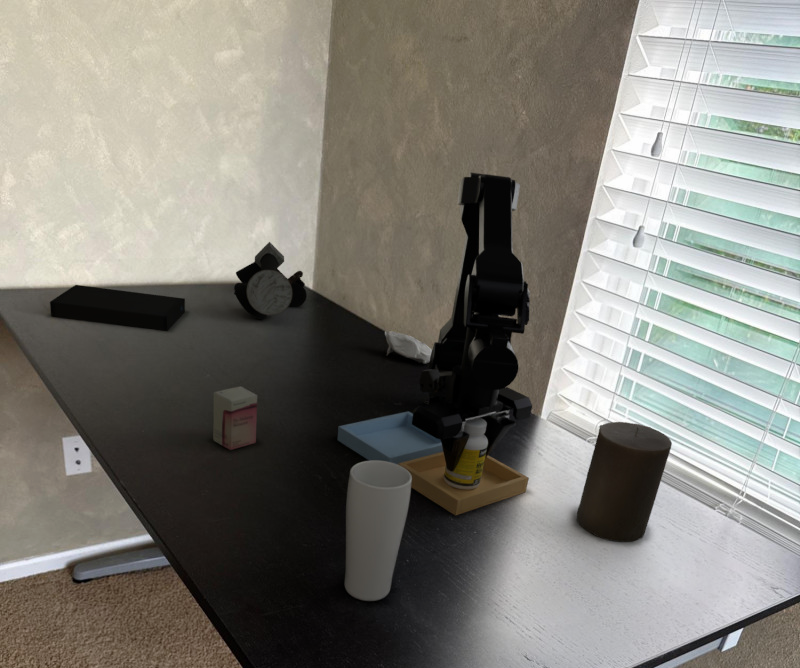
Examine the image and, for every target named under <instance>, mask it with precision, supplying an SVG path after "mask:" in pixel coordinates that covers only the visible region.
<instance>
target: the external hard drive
mask: <svg viewBox="0 0 800 668" xmlns="http://www.w3.org/2000/svg"><path fill="white" fill-rule="evenodd" d="M49 308H50V316H51V317H53V318H60V319H61V318H62V319H69V320H78V321H87V322H93V323H102V324H109V325H117V326H126V327H132V328H143V329H150V330H158V331H166V332H168V331H169V330H170V329H171V328H172V327H173V326H174V325H175V324H176V322H178V321H179V319H180V318H181V317H183V315H184V314H185V313H186V299H185V297H175V296H168V295H167V296H166V295H160V294H152V293H144V292H135V291H127V290H119V289H113V288H104V287H97V286H89V285H80V284H74V285H73V286H71V287H70V288H68V289H67V290H66V291H64V292H63V293H60V294H59V295H57V297H55V298H53V299H52V300H50V301H49Z"/></svg>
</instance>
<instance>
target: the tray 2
mask: <svg viewBox="0 0 800 668" xmlns="http://www.w3.org/2000/svg"><path fill="white" fill-rule="evenodd" d="M398 465H400V466H402V467H404V468H405V469H406V470H408V471H409V472H410V474H411V476H412V483H411V489H413V490H415V491H416V492H417V493H419V494H420V495H423V496H424V497H425V498H427V499H429V500H430V501H432V502H434V503H435V504H436V505H438V506H440V507H441V508H443V509H444V510H445V511H448V512H449V513H451V514H452V515H454V516H458V515H462V514H465V513H467V512H470V511H473V510H477V509H479V508H482V507H485V506H489V505H491V504H495V503H497V502H501V501H503V500H507V499H509V498H513V497H515V496H518V495H521V494H524V493H527V488H528V483H529V480H530V477H528V476H526V475H525V474H523V473H521V472H520V471H517V469H516V470H515V468H512V467H510V466H508V465H506V464H505V463H503V462H501V461H500V460H498V459H496V458H494V457H492V456H490V455H488V456H487V457H486V458H485V461H484V466H483V470H482V475H481V480H480V484H479V486H478V487H477V488H475V489H471V490H464V489H457V488H454V487H452V486H450V485H448V484H447V483H446V482H445V480H444V473H445V467H446V462H445V457H444V452H440V453H436V454H432V455H428V456H425V457H421V458H417V459H413V460H409V461H406V462H403V463H399V464H398Z"/></svg>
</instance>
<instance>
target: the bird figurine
mask: <svg viewBox="0 0 800 668" xmlns="http://www.w3.org/2000/svg"><path fill="white" fill-rule="evenodd" d="M384 336H385V339H386V343H387V345H388V347H387V350H386V355H385V357H386V356H389V355H390V353H393V352H395V353H397V354H399V355H400V356H403V357H404V358H406V359H410V360H413V361H415V362H418V364H421V363H422V364H423V365H426V364H430V356H431V353H432V349H433V348H431V347H429V346H428V345H427V344H426V343H425V342H423V341H420V340H418V339H417V338H416V337H414V336H411V335H410V334H407V333H401V332H397V331H393V330H391V329H390V330H389V331H386V330H385V331H384Z"/></svg>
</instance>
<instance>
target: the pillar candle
mask: <svg viewBox="0 0 800 668" xmlns="http://www.w3.org/2000/svg"><path fill="white" fill-rule="evenodd" d="M598 428H599V429H598V434H597V437H596V441H595V445H594V449H593V452H592V455H591V459H590V463H589V466H588V469H587V474H586V478H585V482H584V486H583V490H582V493H581V497H580V502H579V505H578V507H577V512H576V519H577V523H578V524H579V525H580V527H582V528H584V529H585V530H586V531H588V532H590V533H591V534H593V535H594V536H596V537H599V538H602V539H605V540H608V541H613V542H614V541H615V542H634V541H638V540H639V539H641V538H643V537H644V535H645V534H646V530H647V528H648V524H649V522H650V521H649V520H650V518H651V514H652V511H653V508H654V505H655V502H656V498H657V495H658V491H659V487H660V486H661V481H662V478H663V474H664V471H665V468H666V465H667V461H668V459H669V455H670V452H671V450H672V445H673V443H672V440H671V439H670V437H669V436H667V435H666V434H665V433H663V432H661V431H660V430H657V429H655V428H653V427H651V426H646V425H643V424H640V423H631V422H627V421H614V422H613V421H610V422H607V423H604V424H600V425H599V426H598Z"/></svg>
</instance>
